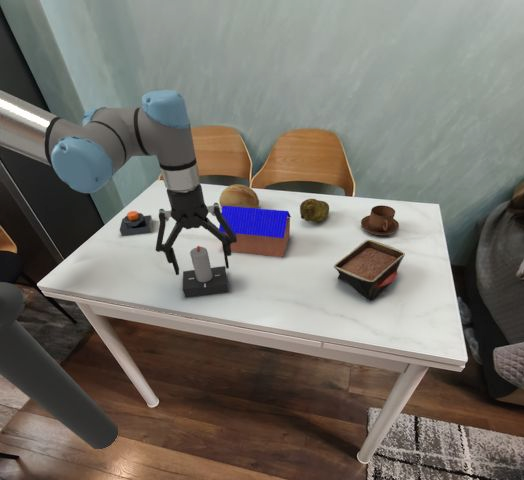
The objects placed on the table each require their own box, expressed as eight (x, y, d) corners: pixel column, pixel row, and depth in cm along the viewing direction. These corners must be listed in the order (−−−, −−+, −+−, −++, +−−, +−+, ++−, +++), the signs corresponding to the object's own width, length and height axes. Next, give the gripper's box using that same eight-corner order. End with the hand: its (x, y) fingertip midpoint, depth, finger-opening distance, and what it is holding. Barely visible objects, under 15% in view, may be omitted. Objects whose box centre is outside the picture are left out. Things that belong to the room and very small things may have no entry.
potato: (337, 220, 106) (340, 197, 99) (305, 231, 102) (307, 207, 96) (323, 210, 110) (326, 187, 104) (292, 220, 107) (293, 197, 101)
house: (283, 257, 93) (284, 221, 84) (221, 251, 97) (215, 215, 88) (290, 236, 100) (291, 201, 91) (232, 231, 104) (228, 196, 95)
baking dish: (325, 286, 87) (328, 260, 78) (366, 253, 92) (373, 225, 83) (365, 314, 81) (373, 289, 72) (407, 277, 85) (419, 250, 77)
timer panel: (185, 298, 83) (182, 289, 81) (185, 279, 89) (182, 270, 86) (228, 292, 84) (227, 283, 81) (226, 273, 89) (224, 264, 87)
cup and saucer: (404, 233, 99) (411, 215, 94) (373, 242, 96) (378, 223, 92) (382, 216, 106) (387, 199, 101) (352, 224, 104) (356, 206, 99)
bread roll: (257, 215, 110) (255, 192, 104) (217, 214, 112) (213, 191, 106) (261, 203, 116) (260, 180, 110) (223, 201, 118) (220, 179, 112)
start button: (128, 221, 104) (126, 216, 102) (129, 216, 106) (127, 211, 105) (138, 220, 104) (137, 215, 103) (139, 215, 106) (138, 210, 105)
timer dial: (212, 281, 83) (207, 254, 76) (196, 283, 82) (189, 256, 76) (212, 271, 85) (206, 244, 79) (196, 273, 85) (189, 246, 79)
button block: (122, 235, 105) (117, 224, 102) (125, 224, 110) (120, 213, 107) (151, 232, 106) (147, 221, 103) (152, 220, 111) (149, 210, 108)
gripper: (238, 172, 68) (246, 255, 85) (127, 184, 67) (157, 266, 83) (242, 187, 64) (249, 271, 80) (122, 199, 62) (155, 283, 79)
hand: (202, 268), depth 82 cm, fingers open, 13 cm apart
